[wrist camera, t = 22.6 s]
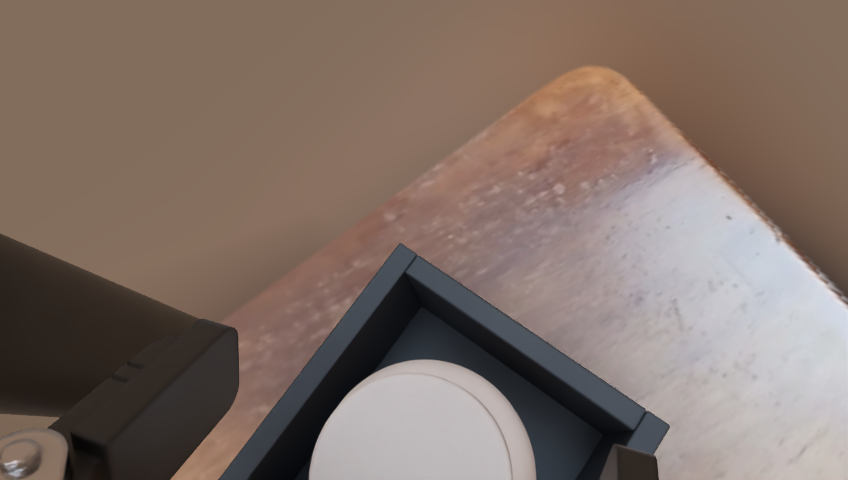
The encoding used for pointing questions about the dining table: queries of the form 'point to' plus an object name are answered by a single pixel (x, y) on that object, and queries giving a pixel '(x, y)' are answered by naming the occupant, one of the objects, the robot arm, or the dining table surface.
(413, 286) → the bin
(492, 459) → the pill bottle
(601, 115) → the dining table surface
